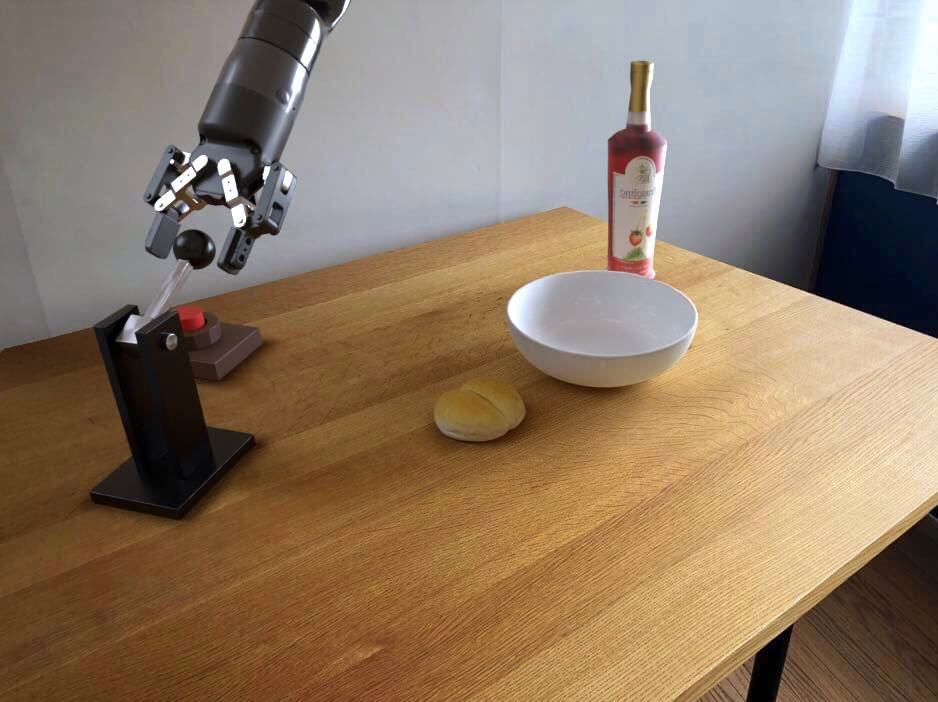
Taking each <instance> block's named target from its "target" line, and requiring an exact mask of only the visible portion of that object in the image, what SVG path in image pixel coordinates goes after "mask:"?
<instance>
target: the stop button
mask: <svg viewBox="0 0 938 702" xmlns="http://www.w3.org/2000/svg"><path fill="white" fill-rule="evenodd" d="M173 310H175V311H178V312H179V316H180V321H181V325H182V329H183V332H191V331H195V330H198V329H201V328H202V327H203V326H205V321H204V316H203V312H204V311H203V309H202V308H201V307H199V306H194V305H187V306H180V307H177V308H174V309H173ZM202 311H203V312H202Z"/></svg>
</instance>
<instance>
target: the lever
mask: <svg viewBox="0 0 938 702" xmlns="http://www.w3.org/2000/svg"><path fill="white" fill-rule="evenodd" d="M172 253H173V256H174V258H175V260H176V262H175V264H174V265H173V267H172V269H171V270H170V272H169V274H168V275H167V277H166V278H165V281H164V282H163V283H162V285H161V287H160V288H159V290H158V292H157V294H156V295H155V297H154V298H153V300H152V301H151V303H150V304H149V306H148V308H147V310H146V311H145V313H144V314H143V315H140V316H138V315H131V316H130V317H129V319H128V320H127V322H126V324H125V325H124V327H123V328H122V330H121V332H120V333H119V335H118V336H117V338H116V340H115V341H116V342H117V343H118V344H119V346H120V347H121V348H122V349H123V350H124V351H125V352H126V354H127V355H128V356H129V357H132V358H139V359H142V358H141V354H140V351H139V347H138V344H137V340H136V337H135V333H134V332H136V331H137V330H139V329H140V328H142V327H143V326H145V325H146V324H148V323H149V322H151V321H152V320H154V319H155V318H157V317H158V316H159V315H161V314H162V313H164V312H165V311H167V310H170V308H171V306H173V303H174V302H175V300H176V299H177V297H178V295H179V294H180V291H181V290H182V289H183V287H184V285H185V283H186V282H187V280H188V278H189V277H190V275H191V273H192V272H193V271H198V270H203V269H206V268H207V267H209V266H210V265H211V264H212V263H213V261H215V258H216V255H217V248H216V244H215V241H214V240H213V238H212V237H211V236H210V235H209V234H208V233H207V232H206V231H203V230H200V229H195V228H190V229H186V230H183V231H182V232H179V233H178V234H177V236H176V239H175V240H174V243H173V246H172Z"/></svg>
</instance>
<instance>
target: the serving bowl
mask: <svg viewBox="0 0 938 702" xmlns="http://www.w3.org/2000/svg"><path fill="white" fill-rule="evenodd" d="M505 315H506V322H507V327H508V331H509V334H510V337H511V340H512V341H513V344H514V345H515V347H516V349H517V350H518V351H519V353H520V354H521V356H522V357H523V358H524V359H525V360H526V361H527V362H529V363H530V364H531V365H532V366H534V368H536V369H537V370H539V371H540V372H543V373H544V374H546V375H548V376H550V377H552V378H555V379H556V380H560V381H563V382H566V383H569V384H573V385H578V386H583V387H593V388H618V387H625V386H631V385H636V384H640V383H643V382H647V381H650V380H651V379H654V378H657V377H658V376H660V375H662V374H664V373H666V372H667V371H668V370H670V369H671V368H673V366H675V365H677V363H678V362H679V361H680V360H681V359H682V358H683V357H684V355H685V354H686V352H688V349H689V348H690V346H691V344H692V342H693V339H694V336H695V333H696V331H697V326H698V322H699V314H698V311H697V308H696V307H695V305H694V303H693V302H692V301H691V299H690V298H689V297H688V296H686V295H685V294H684V293H682V291H680V290H678V289H677V288H676V287H673V286H672V285H669V284H668V283H665V282H663V281H660V280H657V279H655V278H653V279H651V278H648V277H645V276H641V275H636V274H631V273H624V272H616V271H604V270H603V269H602V270H601V269H600V270H596V269H594V270H593V269H590V270H589V269H588V270H587V269H586V270H574V271H566V272H560V273H554V274H550V275H545V276H542V277H540V278H536V279H535V280H532V281H530V282H527V283H526V284H524V285H522V286H521V287H519V288H518V289H517V290H516V291H514V293H513V294H512V295H511V296H510V298H509V299H508V300H507V303H506V308H505Z"/></svg>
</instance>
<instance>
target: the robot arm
mask: <svg viewBox="0 0 938 702" xmlns="http://www.w3.org/2000/svg"><path fill="white" fill-rule="evenodd" d="M352 1H353V0H254V1H253V4H252V5H251V7H250V9H249V11H248V13H247V16H246V18H245V20H244V23H243V25H242V28H241V30H240V32H239V34H238V37H237V40H236V42H235V44H234V46H233V47H232V49H231V50H230V52H229V54H228V55H227V57H226V59H225V61H224V62H223V65H222V66H221V70H220V72H219V74H218V76H217V79H216V81H215V83H214V85H213V88H212V90H211V92H210V95H209V97H208V100H207V102H206V104H205V107H204V109H203V111H202V114H201V116H200V119H199V121H198V123H197V131H198V136H199V143H198V144H197V146H196V148H195V149H194V150H193V151H192V152H191V153H190V152H186V151H182V150H181V149H180V148H178V147H177V146H175V145H174V144H170V145H168V146H166V148H165V150H164V152H163V154H162V155H161V158H160V160H159V161H158V162H159V163H158V164H157V167H156V168H155V170H154V172H153V175H152V177H151V179H150V181H149V182H148V185H147V187H146V188H145V189H146V190H145V191H144V193H143V195H142V200H143V202H144V203H146V204H147V205H149V206H150V207H151V208H152V209H154V210H155V216H154V218H153V221H152V223H151V226H150V227H149V230H148V234H147V235H146V238H145V243H144V249H145V252H147V253H148V254H150V255H152V256H154V257H155V258H157V259H161V260H166V259H168V258H169V255H170V252H171V251H172V249H173V243H174V240H175V239H176V237H177V236H178V235H179V231H180V229H181V227H182V224H180V223H181V222H182V221H183V220H184V219H185V218H187V216H189V215H190V214H191V213H192V212H195V211H201V210H203V209H204V208H205V207H207V206H208V205H209V206H214V207H219V206H223V207H225V208H227V209H229V210H231V214H232V219H233V225H234V227H232V226H231V227H230V229H229V231H228V233H227V236H226V238H225V241H224V243H223V246H222V248H221V251H220V253H219V255H218V257H217V260H216V266H217V268H218V269H219V270H221V271H223V272H225V273H226V274H229V275H232V276H238V275H239V274H240V271H242V270H243V268H244V267H245V266H246V265H247V261H248V259H249V257H250V254H251V251H252V249H253V247H254V244H255V241H257V240H259V238H261V236H264V235H268V234H269V235H270V236H272V237H274V236H277V235H279V233H280V232H281V230H282V227H283V224H284V221H285V218H286V215H287V213H288V209H289V207H290V203H291V201H292V197H293V194H294V192H295V188H296V186H297V183H298V177H297V176H296V175H295V174H294V173H293V172H291V171H290V170H289V169H288V168H287V167H285V165H284V164H283V163H281V162H280V160H281V158H282V155H283V153H284V151H285V149H286V145H287V143H288V140H289V138H290V135H291V133H292V130H293V128H294V125H295V122H296V121H297V118H298V116H299V113H300V111H301V108H302V106H303V103H304V100H305V97H306V96H305V95H306V91H307V87H308V83H309V81H310V78H311V75H312V72H313V70H314V68H315V65H316V63H317V61H318V58H319V56H320V53H321V50H322V48H323V45H324V42H325V40H326V39H327V38H328V37H329V36H330V35H331V34H332V33H333V31H334V30H335V28H336V26H337V25H338V24H339V22H340V21H341V20H342V18H343V17H344V15H345V14H346V12H347V10H348V9H349V6H350V5H351V3H352ZM164 186H165V191H164V193H163V195H162V196H161V195H160V193H161V191H162V189H163V188H164ZM190 187H191V188H192V191H193V192H191V191H190V190H189V188H190ZM261 189H262V190H261ZM260 190H261V193H260V195H259V197H258V192H259V191H260ZM179 201H182V202H181V203H180V204H179V205H178V206H174V205H176V204H177V203H178V202H179Z"/></svg>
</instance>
